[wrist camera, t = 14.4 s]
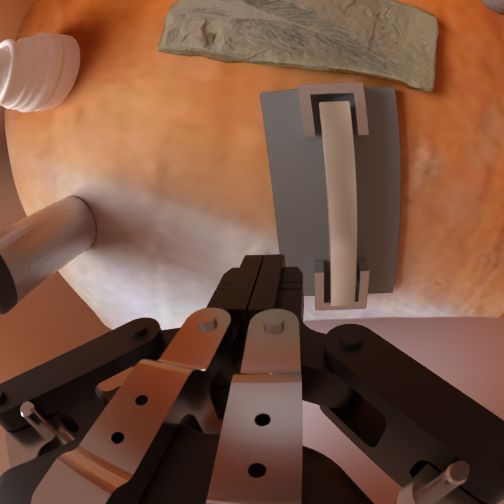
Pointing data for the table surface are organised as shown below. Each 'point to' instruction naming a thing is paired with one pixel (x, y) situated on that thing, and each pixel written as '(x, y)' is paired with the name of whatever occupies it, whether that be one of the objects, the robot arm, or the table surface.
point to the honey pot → (37, 71)
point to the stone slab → (310, 36)
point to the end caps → (305, 93)
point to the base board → (315, 193)
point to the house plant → (495, 5)
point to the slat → (340, 199)
